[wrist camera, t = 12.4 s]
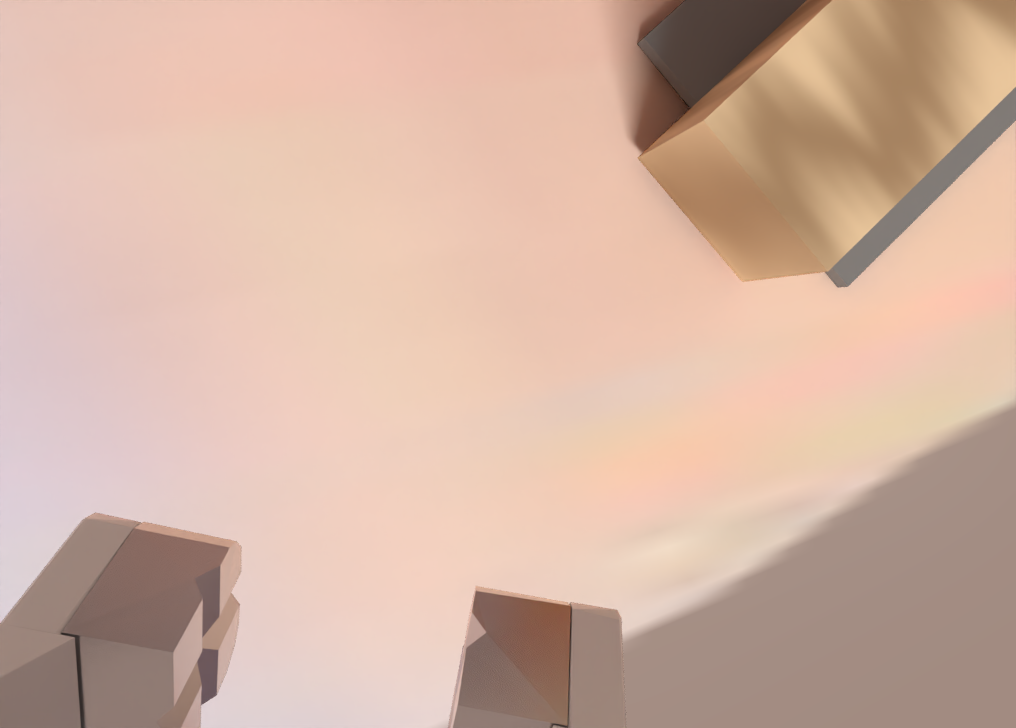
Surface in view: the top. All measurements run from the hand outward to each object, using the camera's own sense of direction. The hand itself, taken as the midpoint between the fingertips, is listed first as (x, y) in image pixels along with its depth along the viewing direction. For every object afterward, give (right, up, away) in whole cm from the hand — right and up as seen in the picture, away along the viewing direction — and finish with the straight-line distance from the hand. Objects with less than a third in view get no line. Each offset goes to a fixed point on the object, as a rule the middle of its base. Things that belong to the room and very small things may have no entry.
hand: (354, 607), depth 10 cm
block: (+8, +7, +16) cm, 19 cm away
